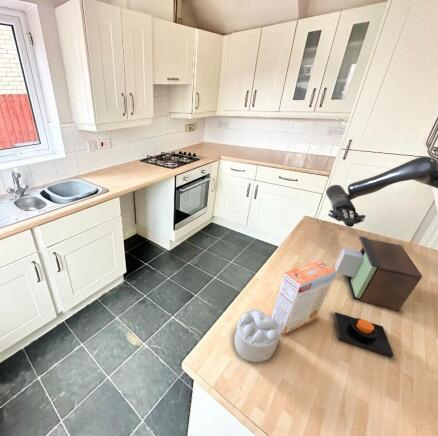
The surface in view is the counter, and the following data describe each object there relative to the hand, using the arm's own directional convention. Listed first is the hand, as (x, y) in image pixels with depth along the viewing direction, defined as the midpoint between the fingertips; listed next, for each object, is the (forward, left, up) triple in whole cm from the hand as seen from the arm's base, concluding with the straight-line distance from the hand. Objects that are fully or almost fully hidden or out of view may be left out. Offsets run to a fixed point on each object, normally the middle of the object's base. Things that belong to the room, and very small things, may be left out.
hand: (350, 224), depth 96 cm
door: (-1, +17, -16) cm, 24 cm away
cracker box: (+17, +43, -18) cm, 49 cm away
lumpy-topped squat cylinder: (+27, +57, -18) cm, 65 cm away
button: (-1, +40, -14) cm, 42 cm away
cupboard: (-8, +15, -18) cm, 25 cm away
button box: (-1, +40, -18) cm, 44 cm away
